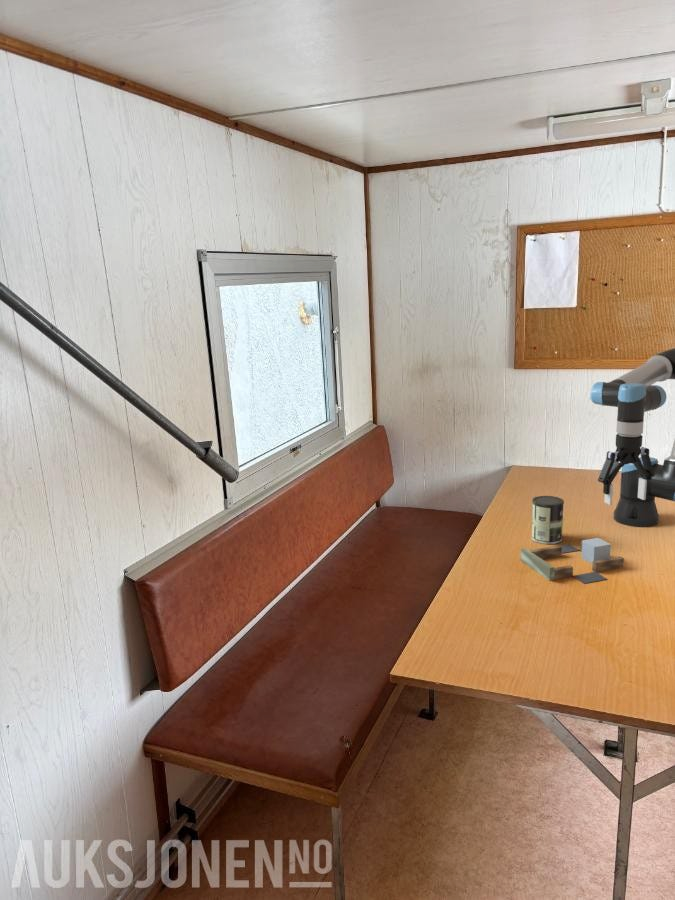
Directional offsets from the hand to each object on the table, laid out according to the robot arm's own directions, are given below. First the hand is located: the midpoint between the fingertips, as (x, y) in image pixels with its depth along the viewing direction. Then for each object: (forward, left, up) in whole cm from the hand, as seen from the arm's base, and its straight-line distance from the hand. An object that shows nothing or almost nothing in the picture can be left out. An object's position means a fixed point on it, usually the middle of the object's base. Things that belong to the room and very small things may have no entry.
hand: (624, 501), depth 211 cm
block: (+10, 0, -18) cm, 21 cm away
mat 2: (+20, +11, -18) cm, 29 cm away
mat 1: (+14, -11, -18) cm, 25 cm away
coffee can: (+14, -21, -18) cm, 31 cm away
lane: (+19, 0, -18) cm, 26 cm away
